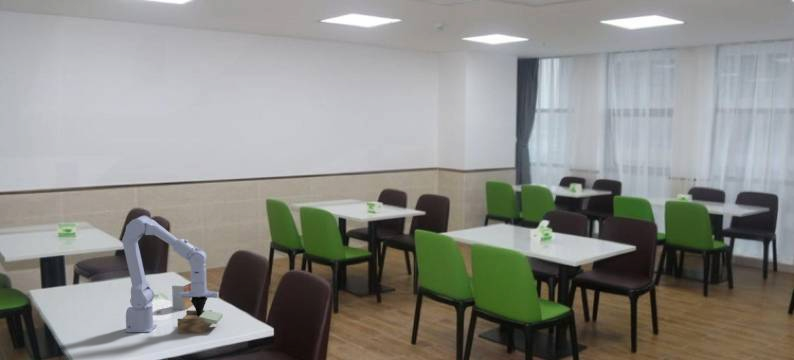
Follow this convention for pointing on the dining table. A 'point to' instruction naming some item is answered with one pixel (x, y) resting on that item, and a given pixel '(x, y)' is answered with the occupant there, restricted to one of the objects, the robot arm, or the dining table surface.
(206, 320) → the cover plate
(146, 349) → the dining table surface
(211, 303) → the dining table surface
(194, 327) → the walnut box
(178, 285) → the small box
